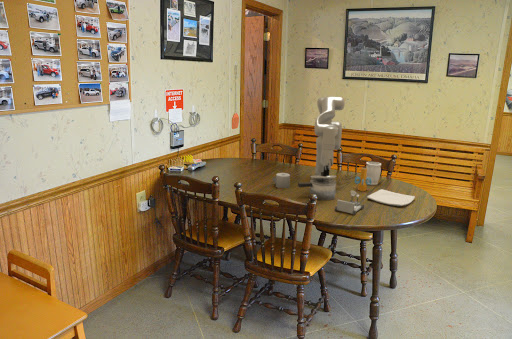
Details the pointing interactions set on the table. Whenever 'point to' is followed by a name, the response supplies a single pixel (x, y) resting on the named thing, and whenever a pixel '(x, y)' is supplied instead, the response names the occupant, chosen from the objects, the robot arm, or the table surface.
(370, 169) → the jar
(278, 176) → the toilet tissue
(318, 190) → the pot
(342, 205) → the toy car
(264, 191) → the table surface
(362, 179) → the orange blue upright piece
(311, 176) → the lid
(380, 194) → the plate
